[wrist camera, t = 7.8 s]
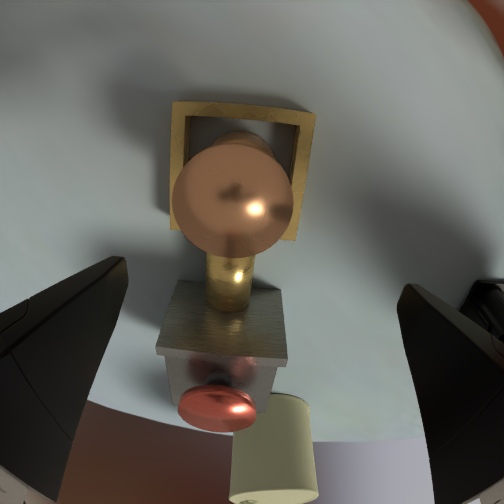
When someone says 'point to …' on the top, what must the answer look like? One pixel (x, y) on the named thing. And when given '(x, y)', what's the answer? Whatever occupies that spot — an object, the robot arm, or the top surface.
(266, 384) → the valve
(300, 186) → the socket
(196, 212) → the stub
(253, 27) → the top surface
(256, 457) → the can
